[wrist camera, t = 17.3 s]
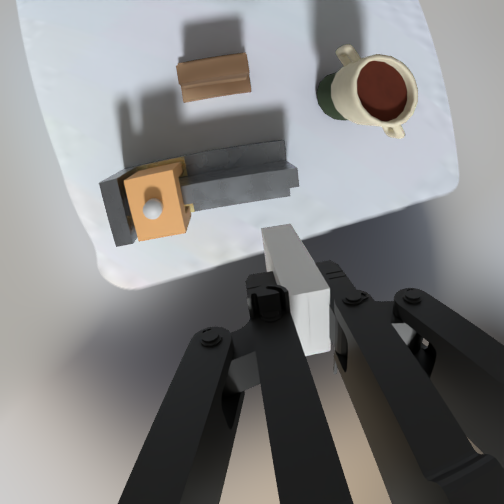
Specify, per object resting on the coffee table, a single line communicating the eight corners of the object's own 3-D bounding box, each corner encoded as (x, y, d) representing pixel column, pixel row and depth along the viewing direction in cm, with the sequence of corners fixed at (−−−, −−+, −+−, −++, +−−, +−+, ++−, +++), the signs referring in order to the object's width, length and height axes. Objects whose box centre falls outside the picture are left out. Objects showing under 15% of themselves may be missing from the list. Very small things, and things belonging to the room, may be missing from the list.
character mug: (380, 118, 37) (438, 123, 25) (340, 145, 38) (387, 159, 26) (336, 49, 33) (382, 25, 21) (291, 75, 34) (323, 56, 22)
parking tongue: (178, 64, 33) (169, 53, 26) (244, 54, 33) (249, 40, 26) (184, 102, 35) (176, 98, 28) (250, 92, 35) (256, 85, 28)
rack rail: (124, 168, 37) (99, 182, 29) (282, 140, 37) (299, 145, 29) (136, 220, 40) (116, 246, 32) (288, 194, 40) (306, 214, 32)
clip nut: (138, 170, 34) (119, 183, 27) (180, 161, 34) (170, 171, 28) (150, 223, 37) (136, 245, 30) (191, 215, 37) (184, 237, 30)
